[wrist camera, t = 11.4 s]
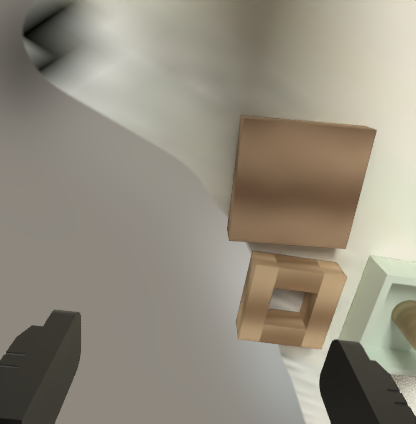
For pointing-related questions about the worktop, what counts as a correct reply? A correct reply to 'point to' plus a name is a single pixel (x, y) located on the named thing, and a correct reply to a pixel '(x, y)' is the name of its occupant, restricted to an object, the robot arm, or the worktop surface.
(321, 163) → the plate
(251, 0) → the worktop surface
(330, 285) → the holder block
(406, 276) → the tray
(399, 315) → the dowel
